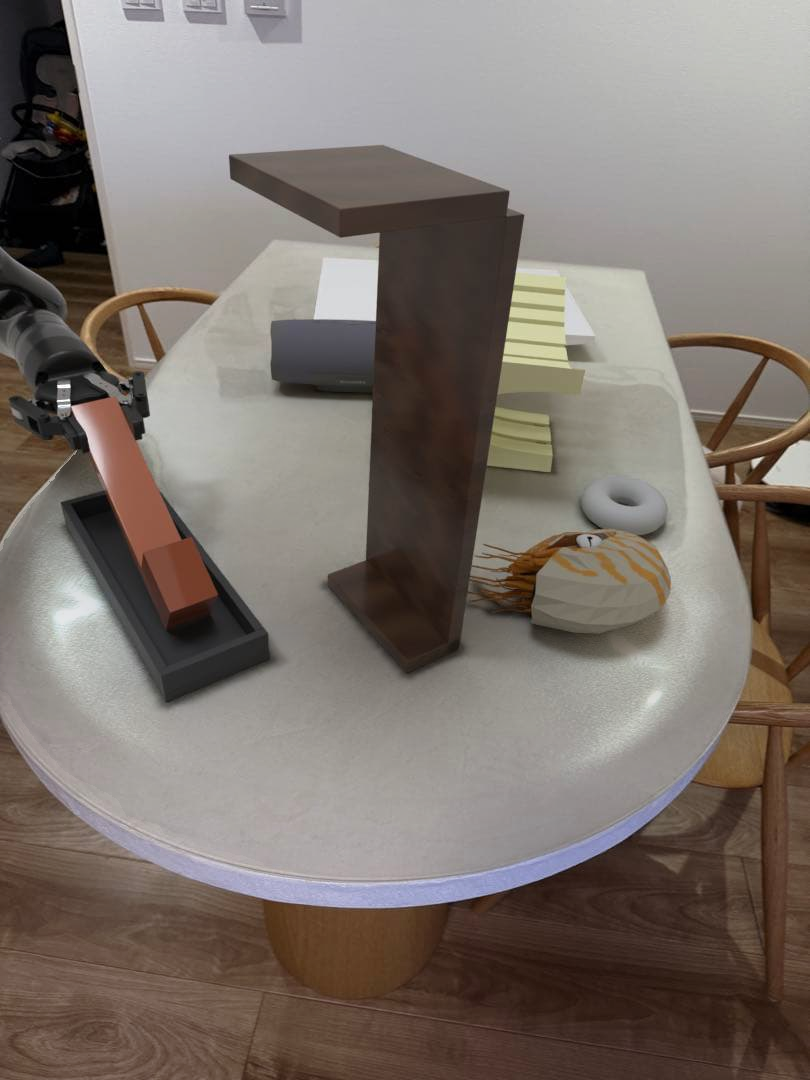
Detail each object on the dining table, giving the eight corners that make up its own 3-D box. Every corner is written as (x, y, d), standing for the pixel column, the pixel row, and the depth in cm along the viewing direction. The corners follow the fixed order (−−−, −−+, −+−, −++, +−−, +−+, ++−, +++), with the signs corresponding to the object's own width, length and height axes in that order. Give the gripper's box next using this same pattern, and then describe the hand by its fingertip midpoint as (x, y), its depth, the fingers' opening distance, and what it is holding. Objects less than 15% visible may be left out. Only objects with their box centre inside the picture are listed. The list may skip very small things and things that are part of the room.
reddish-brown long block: (70, 413, 75) (68, 384, 71) (115, 403, 77) (116, 374, 73) (165, 630, 69) (170, 612, 65) (211, 613, 71) (218, 595, 67)
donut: (580, 487, 95) (575, 531, 87) (585, 463, 93) (581, 506, 85) (662, 502, 94) (665, 549, 86) (669, 478, 92) (673, 523, 84)
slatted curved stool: (437, 385, 115) (449, 266, 104) (543, 396, 114) (565, 277, 104) (420, 495, 91) (433, 354, 80) (554, 509, 91) (585, 370, 80)
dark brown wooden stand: (259, 611, 74) (228, 154, 49) (377, 566, 80) (400, 143, 56) (334, 708, 65) (340, 209, 40) (459, 648, 71) (528, 188, 47)
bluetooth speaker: (425, 375, 118) (430, 312, 112) (431, 403, 110) (437, 337, 104) (275, 371, 115) (273, 306, 109) (271, 399, 108) (268, 332, 102)
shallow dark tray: (66, 526, 82) (60, 502, 80) (154, 501, 87) (150, 477, 85) (166, 702, 64) (161, 676, 62) (269, 658, 69) (268, 633, 67)
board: (313, 350, 122) (312, 322, 119) (323, 282, 148) (323, 257, 145) (589, 363, 125) (595, 336, 122) (552, 294, 151) (557, 270, 148)
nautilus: (439, 640, 73) (457, 552, 85) (673, 668, 70) (656, 572, 82) (443, 573, 68) (461, 490, 81) (692, 600, 65) (671, 509, 78)
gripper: (-21, 347, 78) (23, 420, 67) (120, 323, 85) (179, 386, 74) (-2, 412, 82) (42, 491, 72) (130, 385, 89) (187, 453, 79)
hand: (111, 437), depth 73 cm, fingers closed on reddish-brown long block, 4 cm apart
